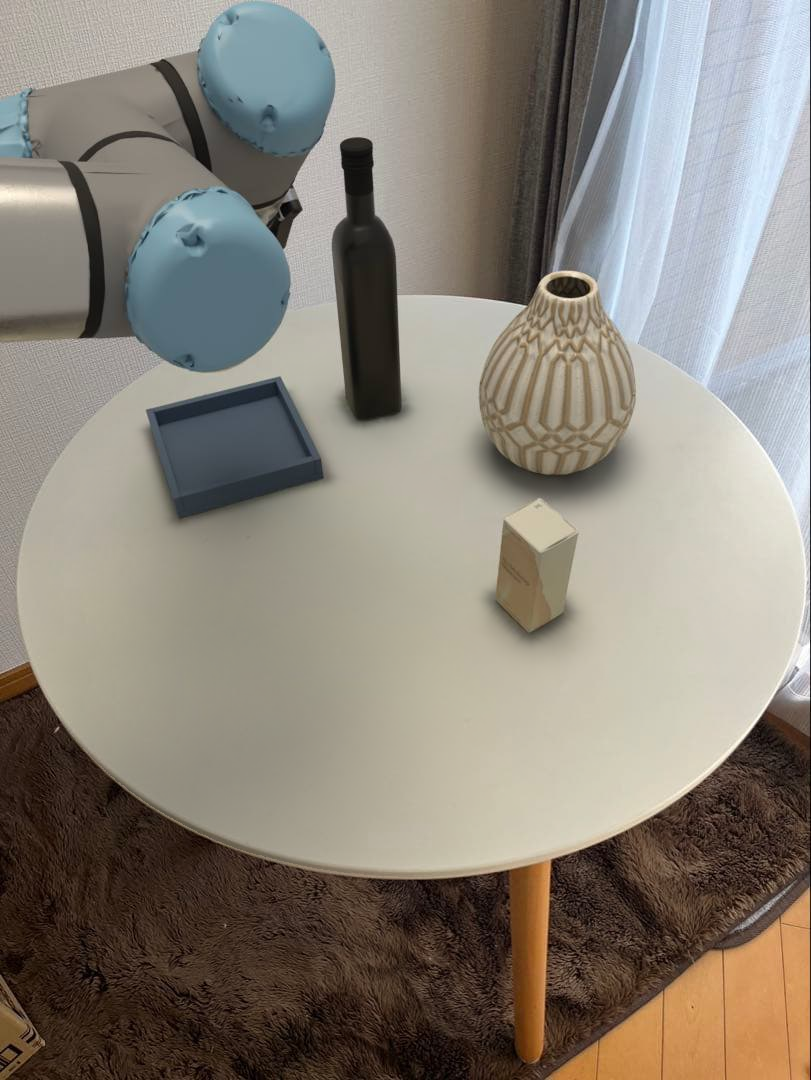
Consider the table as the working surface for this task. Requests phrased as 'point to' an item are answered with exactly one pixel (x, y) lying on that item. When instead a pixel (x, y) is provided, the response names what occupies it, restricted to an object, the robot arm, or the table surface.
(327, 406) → the table surface
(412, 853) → the table surface
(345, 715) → the table surface
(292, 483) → the cup tray
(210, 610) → the table surface
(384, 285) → the wine bottle
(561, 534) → the box
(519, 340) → the vase
